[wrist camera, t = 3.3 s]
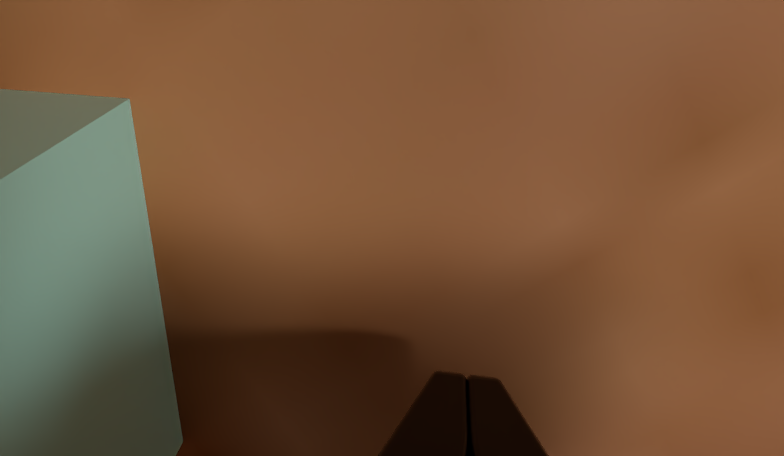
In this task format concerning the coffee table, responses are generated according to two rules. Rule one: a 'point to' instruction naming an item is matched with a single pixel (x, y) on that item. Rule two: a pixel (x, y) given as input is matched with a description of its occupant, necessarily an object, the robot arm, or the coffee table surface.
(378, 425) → the coffee table surface
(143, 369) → the cabinet
